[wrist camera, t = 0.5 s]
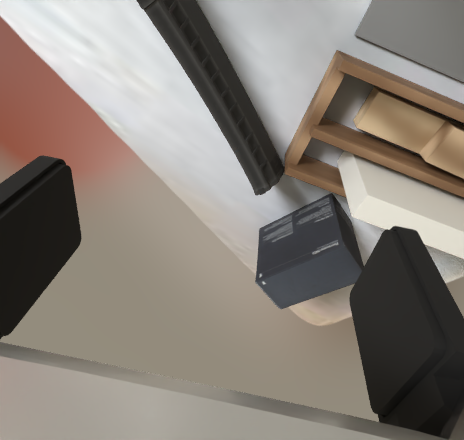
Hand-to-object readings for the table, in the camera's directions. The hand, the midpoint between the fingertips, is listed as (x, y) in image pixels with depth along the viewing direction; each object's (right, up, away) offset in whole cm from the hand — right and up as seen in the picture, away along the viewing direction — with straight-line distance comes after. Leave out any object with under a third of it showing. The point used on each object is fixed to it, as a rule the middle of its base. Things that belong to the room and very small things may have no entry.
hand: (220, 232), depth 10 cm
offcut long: (+28, +11, +32) cm, 44 cm away
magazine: (-1, +19, +31) cm, 36 cm away
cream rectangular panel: (+26, +6, +36) cm, 44 cm away
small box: (+12, 0, +43) cm, 44 cm away
